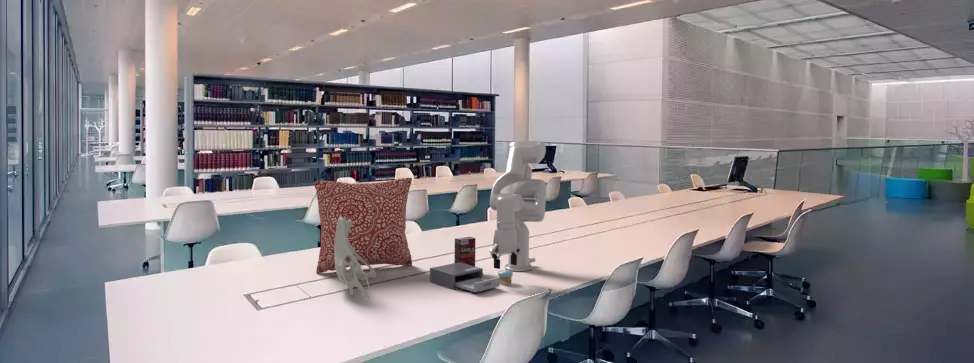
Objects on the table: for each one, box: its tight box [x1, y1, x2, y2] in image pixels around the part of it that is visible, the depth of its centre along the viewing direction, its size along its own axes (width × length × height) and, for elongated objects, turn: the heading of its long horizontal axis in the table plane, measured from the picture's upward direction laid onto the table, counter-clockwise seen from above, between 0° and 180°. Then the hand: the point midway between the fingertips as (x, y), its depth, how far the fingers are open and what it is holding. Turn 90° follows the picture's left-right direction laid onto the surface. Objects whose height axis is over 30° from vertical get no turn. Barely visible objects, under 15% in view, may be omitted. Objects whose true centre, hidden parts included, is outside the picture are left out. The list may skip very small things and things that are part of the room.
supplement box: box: [453, 236, 476, 267], centre depth 260 cm, size 9×5×16 cm, turn 126°
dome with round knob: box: [497, 269, 514, 278], centre depth 243 cm, size 6×6×2 cm
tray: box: [455, 276, 500, 293], centre depth 236 cm, size 13×15×4 cm
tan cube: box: [498, 276, 512, 286], centre depth 243 cm, size 4×4×4 cm
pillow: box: [314, 177, 413, 274], centre depth 265 cm, size 44×16×42 cm, turn 112°
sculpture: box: [334, 215, 378, 300], centre depth 231 cm, size 32×18×30 cm, turn 13°
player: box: [429, 262, 484, 291], centre depth 245 cm, size 16×16×6 cm
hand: (505, 266), depth 243 cm, fingers open, 9 cm apart
